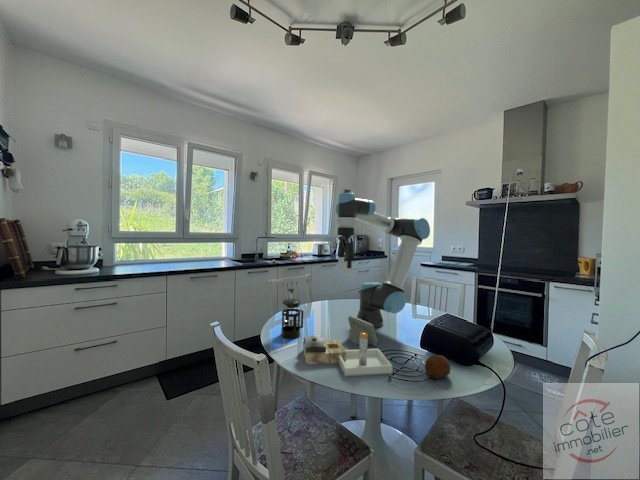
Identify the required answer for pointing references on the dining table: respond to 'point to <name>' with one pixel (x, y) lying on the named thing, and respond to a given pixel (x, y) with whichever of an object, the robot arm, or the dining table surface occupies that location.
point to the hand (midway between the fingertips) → (344, 273)
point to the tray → (374, 365)
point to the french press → (290, 326)
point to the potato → (437, 366)
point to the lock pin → (363, 348)
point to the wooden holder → (322, 350)
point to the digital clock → (361, 330)
